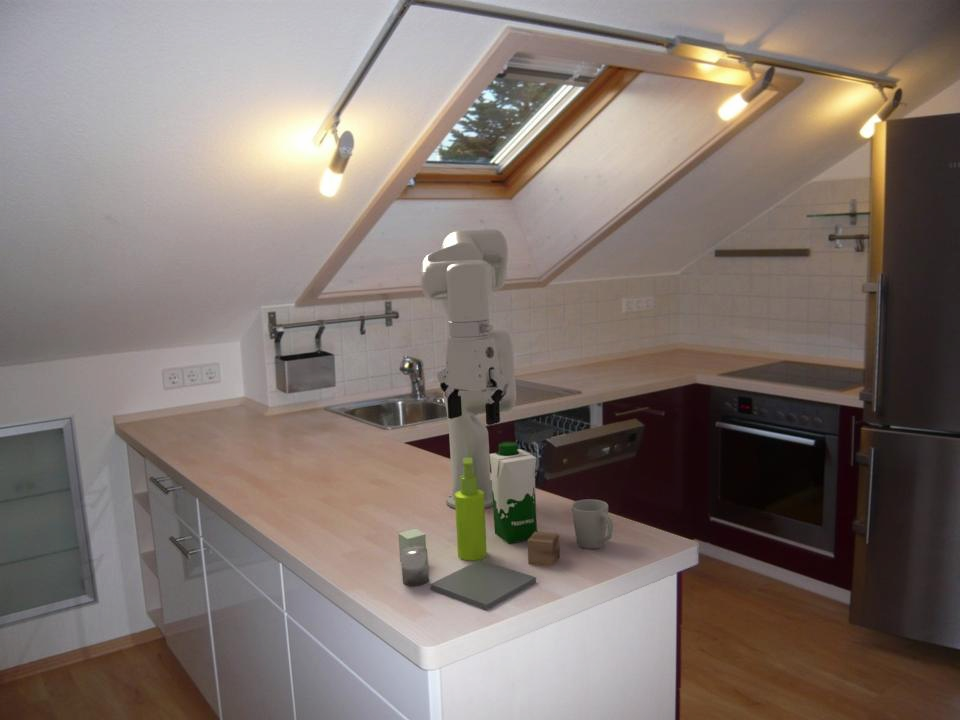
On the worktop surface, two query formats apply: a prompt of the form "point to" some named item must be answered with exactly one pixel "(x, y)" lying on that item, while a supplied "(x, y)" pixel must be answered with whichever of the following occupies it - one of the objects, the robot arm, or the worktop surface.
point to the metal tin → (414, 566)
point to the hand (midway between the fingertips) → (473, 420)
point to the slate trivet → (483, 584)
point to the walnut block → (543, 548)
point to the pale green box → (411, 539)
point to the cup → (591, 523)
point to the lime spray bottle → (470, 516)
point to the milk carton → (513, 493)
